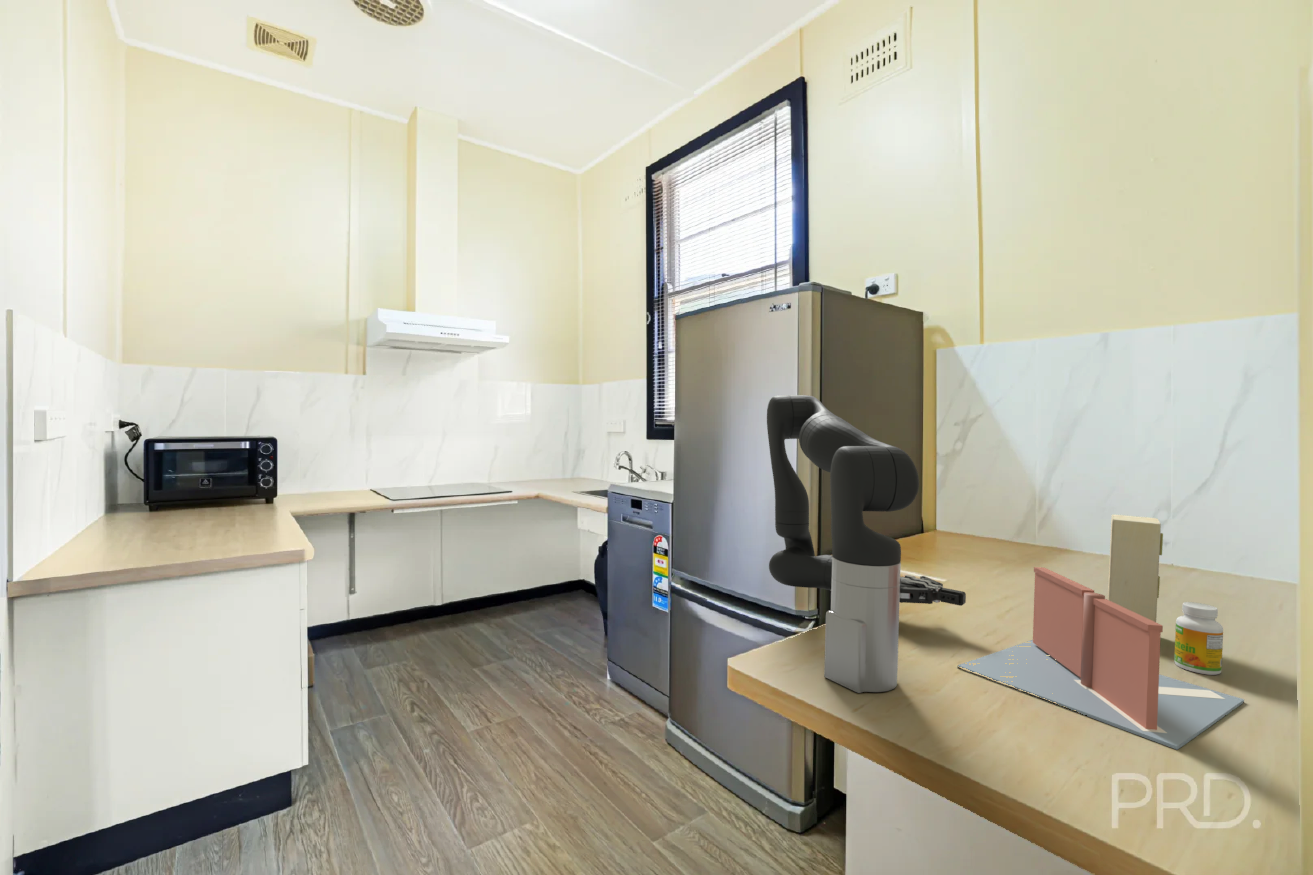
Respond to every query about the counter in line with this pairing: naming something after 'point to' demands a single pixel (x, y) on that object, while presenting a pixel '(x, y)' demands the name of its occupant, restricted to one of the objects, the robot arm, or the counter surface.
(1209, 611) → the supplement bottle
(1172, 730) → the card
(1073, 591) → the panel
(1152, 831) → the counter surface
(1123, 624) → the bar
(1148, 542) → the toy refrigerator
